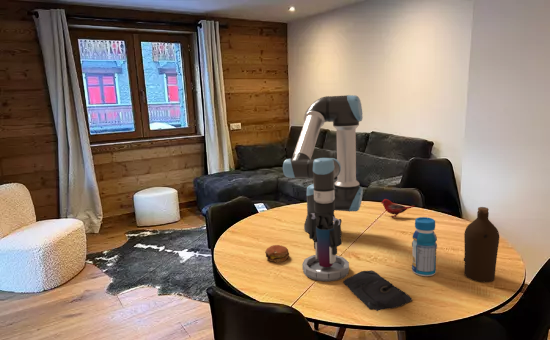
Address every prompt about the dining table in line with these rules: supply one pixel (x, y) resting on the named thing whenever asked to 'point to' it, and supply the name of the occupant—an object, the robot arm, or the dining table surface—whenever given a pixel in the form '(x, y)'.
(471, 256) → the olive oil
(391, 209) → the decorative bird figurine
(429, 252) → the beverage bottle
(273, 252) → the burger
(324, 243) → the cup
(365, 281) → the dark slate chunk
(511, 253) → the dining table surface
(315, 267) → the tray
